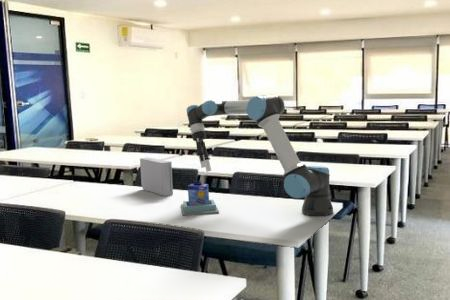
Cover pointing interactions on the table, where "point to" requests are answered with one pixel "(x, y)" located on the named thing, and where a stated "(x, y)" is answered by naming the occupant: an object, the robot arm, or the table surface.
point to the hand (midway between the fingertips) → (206, 169)
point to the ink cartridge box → (198, 194)
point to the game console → (156, 176)
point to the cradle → (199, 209)
